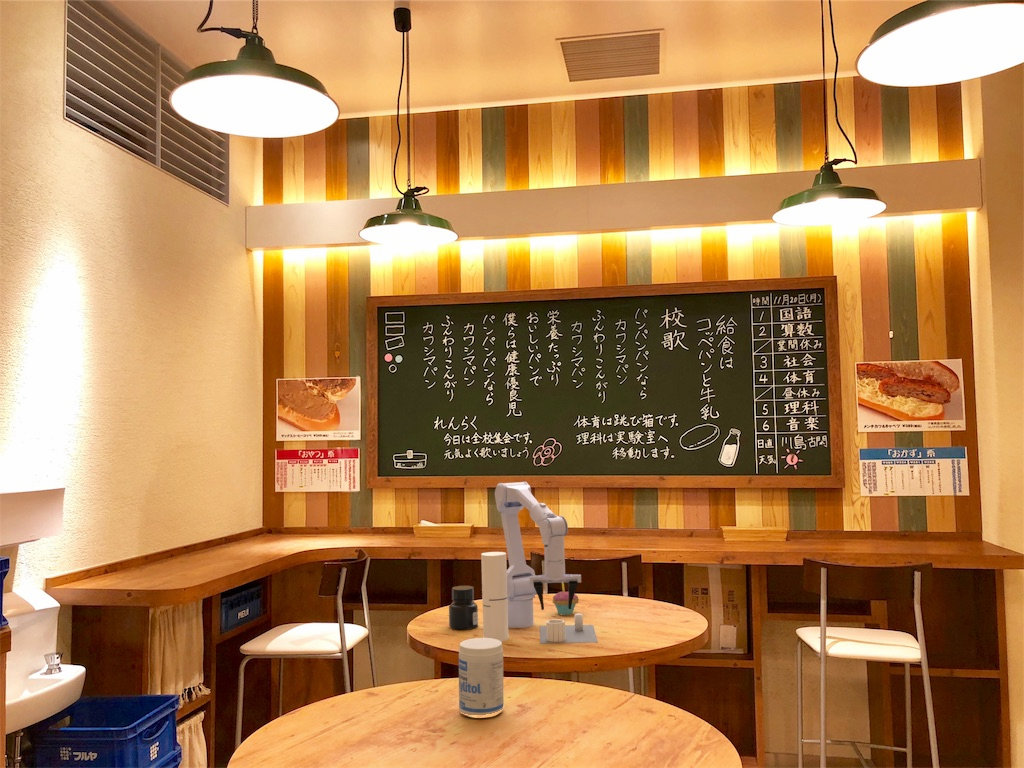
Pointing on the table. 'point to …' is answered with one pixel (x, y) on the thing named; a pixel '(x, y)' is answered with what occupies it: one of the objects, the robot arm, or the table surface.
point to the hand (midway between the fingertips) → (556, 608)
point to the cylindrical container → (494, 595)
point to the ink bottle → (463, 609)
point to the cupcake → (564, 602)
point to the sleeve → (555, 630)
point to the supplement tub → (480, 676)
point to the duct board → (573, 633)
